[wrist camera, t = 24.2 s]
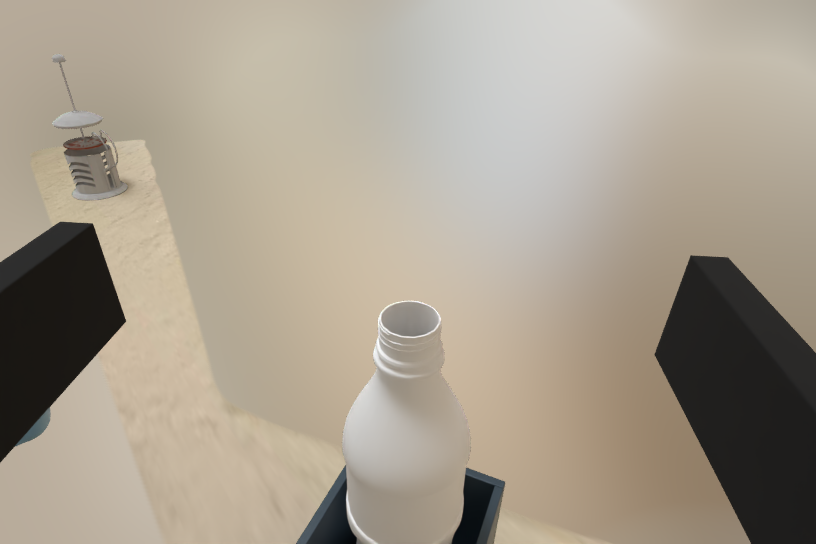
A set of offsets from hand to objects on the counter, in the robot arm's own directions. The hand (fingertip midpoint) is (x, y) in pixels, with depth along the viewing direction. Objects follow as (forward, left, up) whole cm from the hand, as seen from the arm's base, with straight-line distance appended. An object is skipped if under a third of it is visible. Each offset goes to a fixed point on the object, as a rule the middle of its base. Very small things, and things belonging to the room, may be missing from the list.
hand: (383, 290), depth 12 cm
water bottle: (+9, +3, -33) cm, 35 cm away
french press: (+54, +87, -34) cm, 108 cm away
